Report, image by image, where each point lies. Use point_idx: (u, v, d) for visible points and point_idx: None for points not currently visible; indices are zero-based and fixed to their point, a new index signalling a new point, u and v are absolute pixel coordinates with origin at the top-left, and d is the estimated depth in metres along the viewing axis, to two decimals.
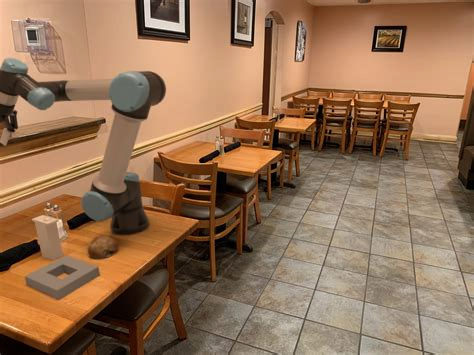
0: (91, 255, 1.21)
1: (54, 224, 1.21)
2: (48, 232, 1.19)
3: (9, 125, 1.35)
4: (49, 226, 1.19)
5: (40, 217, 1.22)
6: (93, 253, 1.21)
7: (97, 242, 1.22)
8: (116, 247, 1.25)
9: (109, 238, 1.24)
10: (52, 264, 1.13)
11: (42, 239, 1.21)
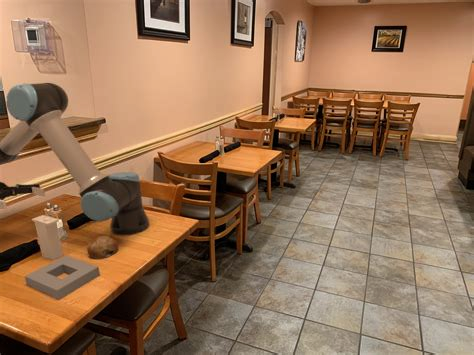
0: (91, 255, 1.21)
1: (54, 224, 1.21)
2: (48, 232, 1.19)
3: (23, 187, 1.33)
4: (49, 226, 1.19)
5: (40, 217, 1.22)
6: (92, 253, 1.21)
7: (97, 242, 1.22)
8: (116, 247, 1.25)
9: (109, 238, 1.24)
10: (52, 264, 1.13)
11: (42, 239, 1.21)
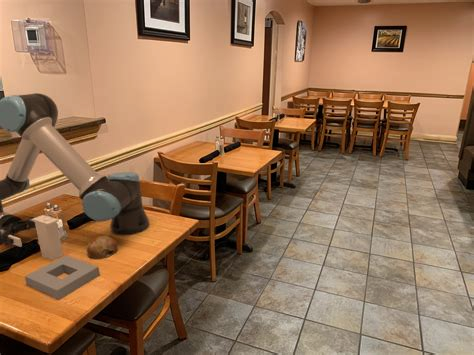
0: (90, 255, 1.21)
1: (54, 224, 1.21)
2: (48, 232, 1.19)
3: None
4: (49, 226, 1.19)
5: (40, 217, 1.22)
6: (92, 253, 1.21)
7: (96, 242, 1.22)
8: (115, 247, 1.25)
9: (108, 238, 1.25)
10: (52, 264, 1.13)
11: (42, 239, 1.21)
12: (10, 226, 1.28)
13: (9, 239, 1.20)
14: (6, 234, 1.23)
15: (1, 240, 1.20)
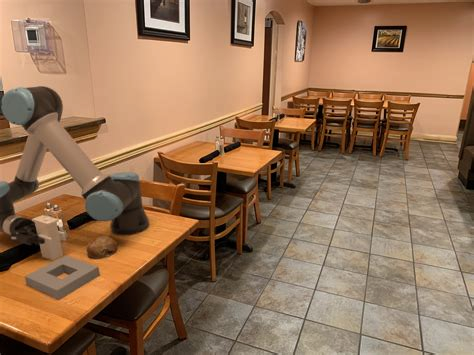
0: (90, 255, 1.21)
1: (54, 224, 1.21)
2: (48, 232, 1.19)
3: None
4: (49, 226, 1.19)
5: (40, 217, 1.22)
6: (92, 252, 1.21)
7: (96, 242, 1.22)
8: (115, 247, 1.25)
9: (108, 238, 1.25)
10: (52, 264, 1.13)
11: None
12: (27, 228, 1.25)
13: (40, 239, 1.19)
14: (34, 234, 1.21)
15: (32, 239, 1.20)
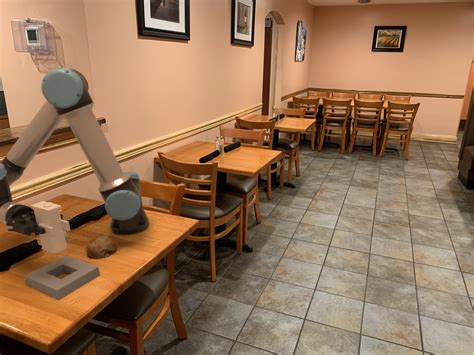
0: (90, 255, 1.21)
1: (56, 211, 1.03)
2: (50, 221, 1.02)
3: None
4: (50, 213, 1.02)
5: (40, 203, 1.05)
6: (91, 252, 1.21)
7: (96, 242, 1.22)
8: (115, 247, 1.25)
9: (108, 238, 1.25)
10: (52, 264, 1.13)
11: None
12: (25, 217, 1.08)
13: (40, 228, 1.01)
14: (33, 223, 1.04)
15: (31, 229, 1.02)
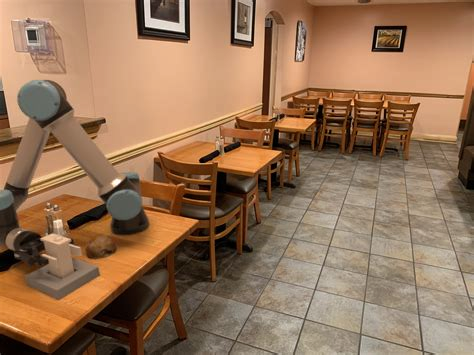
0: (89, 255, 1.21)
1: (66, 244, 1.05)
2: (60, 254, 1.04)
3: None
4: (60, 247, 1.04)
5: (50, 236, 1.07)
6: (91, 252, 1.21)
7: (95, 242, 1.22)
8: (114, 247, 1.25)
9: (107, 238, 1.25)
10: None
11: None
12: (32, 245, 1.09)
13: (43, 259, 1.02)
14: (37, 253, 1.05)
15: (34, 260, 1.03)
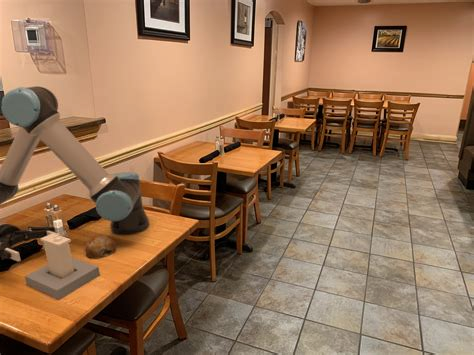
0: (89, 254, 1.21)
1: (66, 245, 1.05)
2: (59, 254, 1.04)
3: (37, 231, 1.20)
4: (60, 247, 1.04)
5: (50, 236, 1.07)
6: (90, 252, 1.21)
7: (94, 242, 1.22)
8: (113, 246, 1.25)
9: (106, 238, 1.25)
10: None
11: (52, 262, 1.06)
12: (7, 237, 1.15)
13: (6, 253, 1.07)
14: (3, 247, 1.10)
15: None
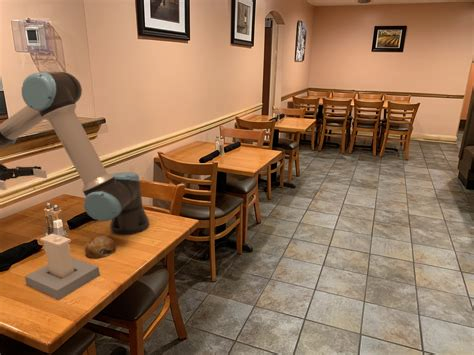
0: (88, 254, 1.22)
1: (66, 245, 1.05)
2: (59, 254, 1.04)
3: (24, 169, 1.26)
4: (60, 247, 1.04)
5: (50, 236, 1.07)
6: (90, 252, 1.21)
7: (94, 241, 1.22)
8: (113, 246, 1.25)
9: (106, 237, 1.25)
10: None
11: (52, 262, 1.06)
12: None
13: None
14: None
15: None
